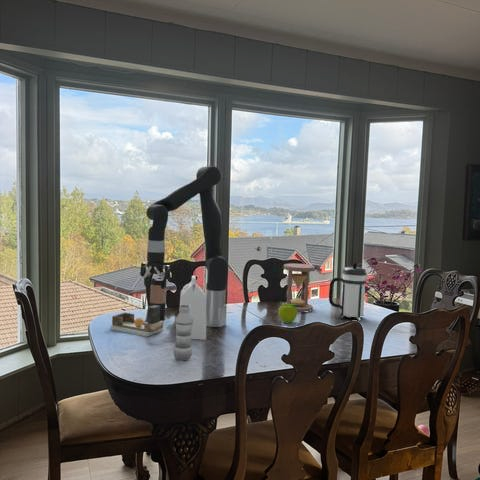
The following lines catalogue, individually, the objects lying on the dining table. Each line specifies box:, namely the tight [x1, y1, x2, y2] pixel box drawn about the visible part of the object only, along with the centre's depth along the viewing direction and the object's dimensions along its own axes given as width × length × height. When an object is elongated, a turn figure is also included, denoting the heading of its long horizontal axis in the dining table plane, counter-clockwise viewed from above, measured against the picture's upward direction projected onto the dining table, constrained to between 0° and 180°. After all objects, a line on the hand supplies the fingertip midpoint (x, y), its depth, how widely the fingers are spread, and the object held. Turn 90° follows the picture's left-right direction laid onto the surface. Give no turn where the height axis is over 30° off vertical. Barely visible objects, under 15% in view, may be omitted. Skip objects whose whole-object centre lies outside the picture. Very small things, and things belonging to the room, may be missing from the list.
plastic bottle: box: [173, 305, 193, 361], centre depth 171 cm, size 6×7×20 cm
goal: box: [111, 312, 135, 327], centre depth 211 cm, size 6×8×4 cm, turn 155°
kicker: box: [144, 305, 164, 332], centre depth 204 cm, size 5×7×10 cm
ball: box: [134, 317, 145, 327], centre depth 207 cm, size 4×4×4 cm
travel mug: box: [149, 277, 167, 322], centre depth 227 cm, size 8×8×20 cm
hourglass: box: [281, 263, 316, 312], centre depth 262 cm, size 18×18×25 cm
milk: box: [178, 275, 207, 340], centre depth 202 cm, size 12×12×26 cm
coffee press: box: [328, 262, 370, 318], centre depth 246 cm, size 17×16×30 cm
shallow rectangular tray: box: [109, 319, 164, 337], centre depth 208 cm, size 20×12×2 cm, turn 65°
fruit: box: [278, 301, 298, 323], centre depth 232 cm, size 9×9×10 cm
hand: (154, 287), depth 203 cm, fingers open, 8 cm apart
